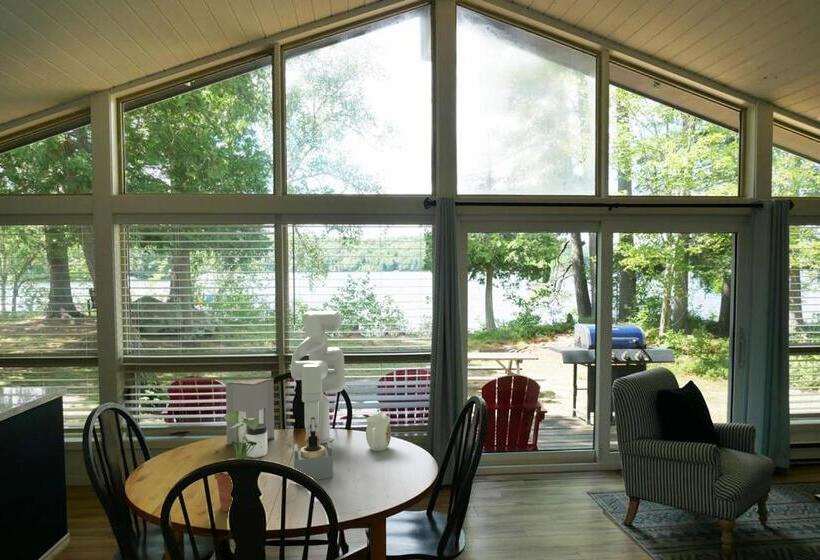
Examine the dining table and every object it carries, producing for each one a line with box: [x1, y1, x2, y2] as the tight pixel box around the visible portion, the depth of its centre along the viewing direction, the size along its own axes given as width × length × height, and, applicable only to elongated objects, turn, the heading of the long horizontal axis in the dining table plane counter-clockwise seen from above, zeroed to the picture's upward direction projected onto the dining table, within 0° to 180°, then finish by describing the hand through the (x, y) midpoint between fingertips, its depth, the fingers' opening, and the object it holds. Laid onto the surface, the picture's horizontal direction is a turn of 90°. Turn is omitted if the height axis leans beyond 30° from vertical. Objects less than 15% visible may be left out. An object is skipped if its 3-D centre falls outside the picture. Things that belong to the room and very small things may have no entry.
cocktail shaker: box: [305, 425, 320, 452], centre depth 196 cm, size 5×5×13 cm
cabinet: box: [225, 378, 275, 447], centre depth 234 cm, size 21×10×28 cm, turn 114°
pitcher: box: [365, 412, 392, 452], centre depth 224 cm, size 11×18×14 cm, turn 169°
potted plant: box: [214, 412, 261, 512], centre depth 171 cm, size 16×15×35 cm
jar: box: [245, 424, 268, 459], centre depth 220 cm, size 9×8×12 cm
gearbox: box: [293, 441, 334, 481], centre depth 196 cm, size 10×14×11 cm
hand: (312, 443), depth 196 cm, fingers closed on cocktail shaker, 5 cm apart
